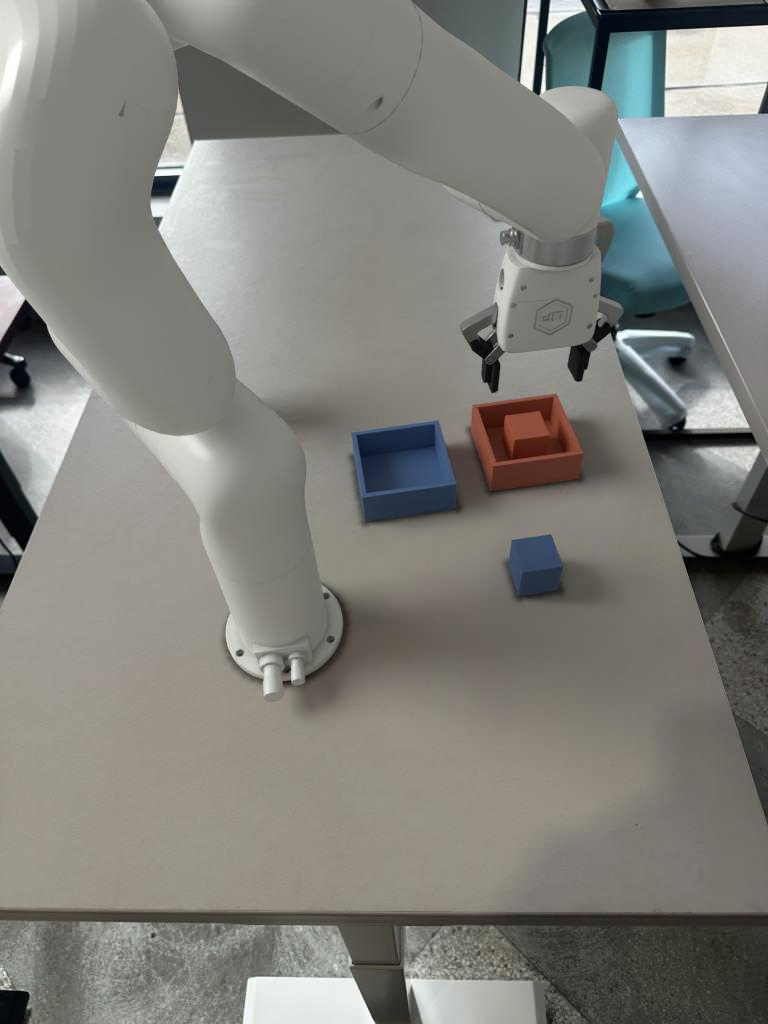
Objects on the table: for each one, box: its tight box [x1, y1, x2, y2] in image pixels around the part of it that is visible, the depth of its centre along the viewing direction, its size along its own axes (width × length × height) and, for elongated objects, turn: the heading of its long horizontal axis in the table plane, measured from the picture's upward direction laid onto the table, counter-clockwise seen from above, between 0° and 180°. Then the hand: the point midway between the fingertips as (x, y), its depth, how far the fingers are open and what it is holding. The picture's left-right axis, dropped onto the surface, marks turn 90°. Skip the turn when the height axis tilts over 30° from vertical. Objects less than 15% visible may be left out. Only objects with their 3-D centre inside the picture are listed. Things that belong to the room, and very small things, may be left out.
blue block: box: [507, 533, 564, 597], centre depth 80 cm, size 4×4×4 cm
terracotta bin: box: [470, 393, 585, 492], centre depth 93 cm, size 11×11×4 cm
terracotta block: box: [503, 411, 550, 461], centre depth 92 cm, size 4×4×4 cm
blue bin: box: [351, 420, 458, 523], centre depth 90 cm, size 11×11×4 cm
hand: (532, 379), depth 82 cm, fingers open, 9 cm apart
